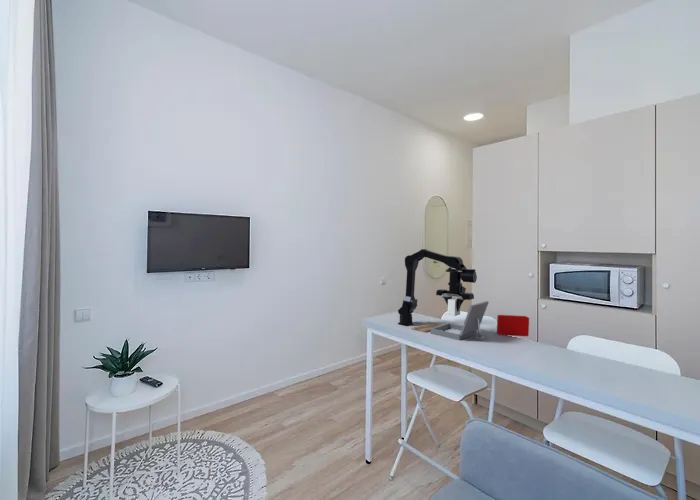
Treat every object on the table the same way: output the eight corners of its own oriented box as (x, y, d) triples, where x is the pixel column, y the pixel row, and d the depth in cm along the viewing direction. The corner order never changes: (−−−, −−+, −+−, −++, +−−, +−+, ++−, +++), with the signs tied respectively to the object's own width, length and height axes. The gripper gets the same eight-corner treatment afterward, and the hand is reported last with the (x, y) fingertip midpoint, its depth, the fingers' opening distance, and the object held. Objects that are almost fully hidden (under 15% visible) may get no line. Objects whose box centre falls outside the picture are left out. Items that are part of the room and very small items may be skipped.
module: (447, 314, 179) (447, 299, 179) (452, 313, 184) (453, 298, 183) (454, 316, 176) (455, 300, 176) (460, 314, 181) (460, 299, 180)
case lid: (470, 305, 164) (472, 306, 163) (486, 301, 177) (488, 301, 177) (459, 334, 168) (461, 336, 167) (476, 328, 181) (478, 329, 181)
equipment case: (430, 333, 179) (431, 314, 179) (448, 327, 192) (449, 309, 192) (474, 343, 162) (475, 322, 162) (491, 336, 176) (491, 316, 176)
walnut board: (411, 329, 187) (411, 328, 187) (431, 323, 201) (431, 322, 201) (425, 332, 180) (425, 331, 180) (445, 326, 195) (445, 325, 195)
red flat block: (526, 334, 181) (526, 316, 180) (528, 336, 178) (529, 317, 178) (496, 333, 182) (497, 314, 182) (498, 335, 179) (499, 315, 179)
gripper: (479, 281, 179) (478, 311, 179) (446, 278, 192) (445, 306, 192) (469, 283, 171) (468, 314, 171) (436, 279, 184) (435, 308, 184)
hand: (453, 310), depth 180 cm, fingers closed on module, 4 cm apart
